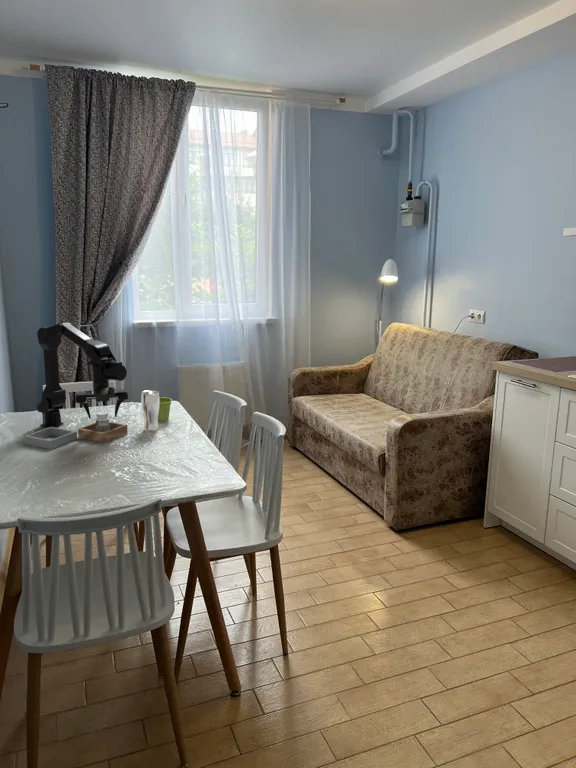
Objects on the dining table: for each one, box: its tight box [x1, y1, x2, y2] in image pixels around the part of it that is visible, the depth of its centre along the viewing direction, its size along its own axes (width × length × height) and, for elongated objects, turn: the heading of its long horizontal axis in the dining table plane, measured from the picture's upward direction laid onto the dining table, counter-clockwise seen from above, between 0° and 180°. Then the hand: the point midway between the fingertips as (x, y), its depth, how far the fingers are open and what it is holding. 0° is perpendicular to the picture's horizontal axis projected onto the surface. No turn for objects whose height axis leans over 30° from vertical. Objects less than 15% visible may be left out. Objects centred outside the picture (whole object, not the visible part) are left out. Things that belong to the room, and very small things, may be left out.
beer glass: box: [140, 390, 160, 432], centre depth 228 cm, size 7×7×15 cm
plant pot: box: [158, 396, 173, 423], centre depth 241 cm, size 9×9×9 cm
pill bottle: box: [95, 411, 110, 433], centre depth 220 cm, size 5×5×8 cm
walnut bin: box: [77, 421, 128, 444], centre depth 221 cm, size 13×13×4 cm
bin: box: [23, 427, 78, 450], centre depth 213 cm, size 13×13×3 cm
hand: (102, 418), depth 219 cm, fingers open, 9 cm apart
